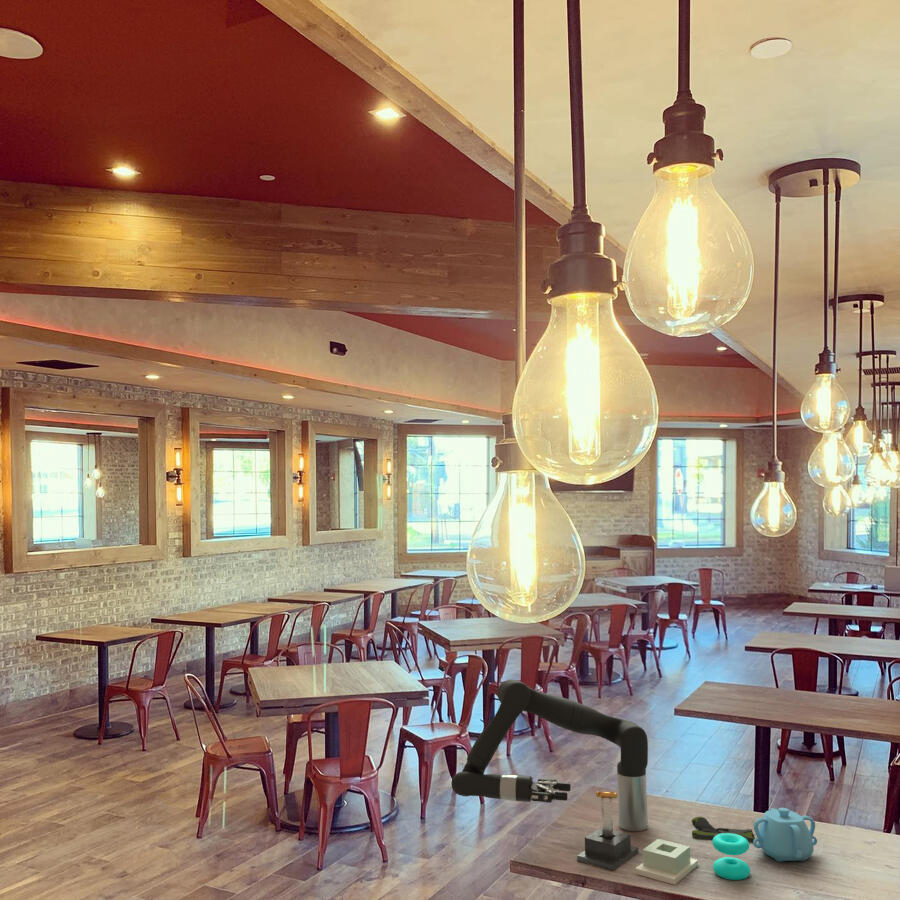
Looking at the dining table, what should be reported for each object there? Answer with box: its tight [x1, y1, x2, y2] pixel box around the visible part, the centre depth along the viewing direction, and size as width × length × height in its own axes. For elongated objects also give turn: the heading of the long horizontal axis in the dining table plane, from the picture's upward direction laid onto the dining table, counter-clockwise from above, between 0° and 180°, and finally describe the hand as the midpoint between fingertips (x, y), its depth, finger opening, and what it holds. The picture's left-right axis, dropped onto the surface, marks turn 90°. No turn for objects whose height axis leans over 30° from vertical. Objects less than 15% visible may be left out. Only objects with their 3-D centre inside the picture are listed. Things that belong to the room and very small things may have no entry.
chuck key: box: [595, 791, 618, 840], centre depth 262 cm, size 7×3×18 cm, turn 76°
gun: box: [691, 816, 756, 843], centre depth 279 cm, size 2×19×15 cm
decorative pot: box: [752, 807, 818, 863], centre depth 261 cm, size 16×16×14 cm
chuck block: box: [576, 827, 640, 872], centre depth 262 cm, size 16×12×6 cm
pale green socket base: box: [634, 838, 699, 885], centre depth 252 cm, size 16×12×6 cm
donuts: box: [712, 833, 751, 881], centre depth 248 cm, size 10×10×10 cm
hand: (568, 791), depth 265 cm, fingers open, 8 cm apart
